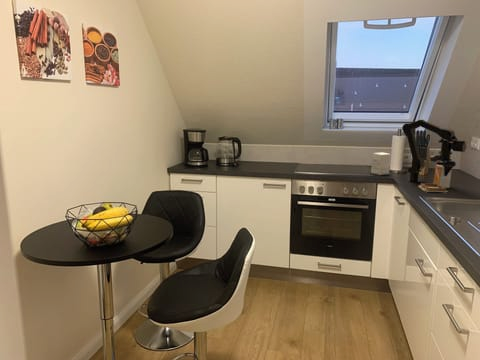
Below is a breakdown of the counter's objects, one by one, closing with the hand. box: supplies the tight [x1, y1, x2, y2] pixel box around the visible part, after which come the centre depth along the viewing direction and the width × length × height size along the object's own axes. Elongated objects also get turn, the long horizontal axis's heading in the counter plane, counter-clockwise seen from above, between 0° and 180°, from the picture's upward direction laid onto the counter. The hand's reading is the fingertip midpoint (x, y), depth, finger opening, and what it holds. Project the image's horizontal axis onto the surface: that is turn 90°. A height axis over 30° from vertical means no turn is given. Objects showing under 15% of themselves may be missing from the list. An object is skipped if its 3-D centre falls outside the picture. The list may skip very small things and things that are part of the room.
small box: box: [432, 164, 453, 189], centre depth 236 cm, size 8×6×13 cm
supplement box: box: [370, 151, 392, 176], centre depth 272 cm, size 9×9×15 cm
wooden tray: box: [418, 182, 448, 193], centre depth 227 cm, size 14×12×2 cm
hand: (442, 174), depth 235 cm, fingers closed on small box, 8 cm apart
